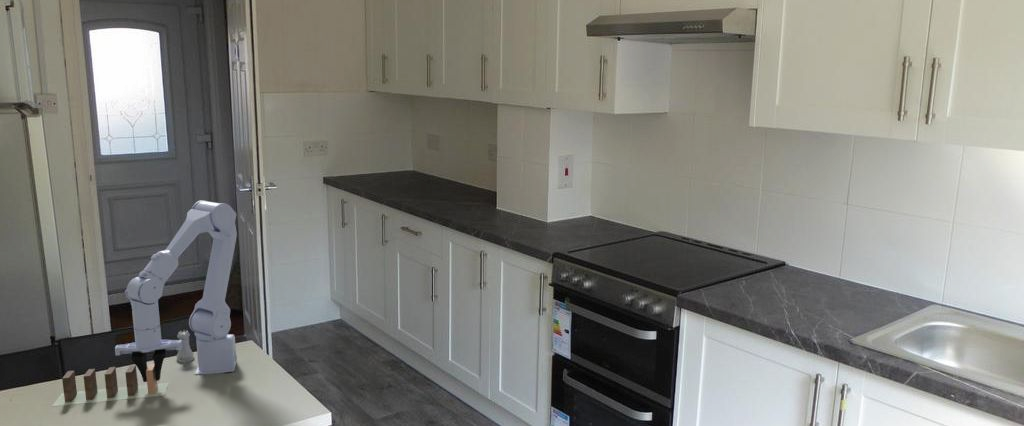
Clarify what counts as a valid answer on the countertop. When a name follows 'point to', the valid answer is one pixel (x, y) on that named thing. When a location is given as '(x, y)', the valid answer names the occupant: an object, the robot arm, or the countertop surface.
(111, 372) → the domino
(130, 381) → the domino
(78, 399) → the sage mat
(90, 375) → the domino
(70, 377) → the domino
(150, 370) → the terracotta domino
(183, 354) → the rook chess piece
